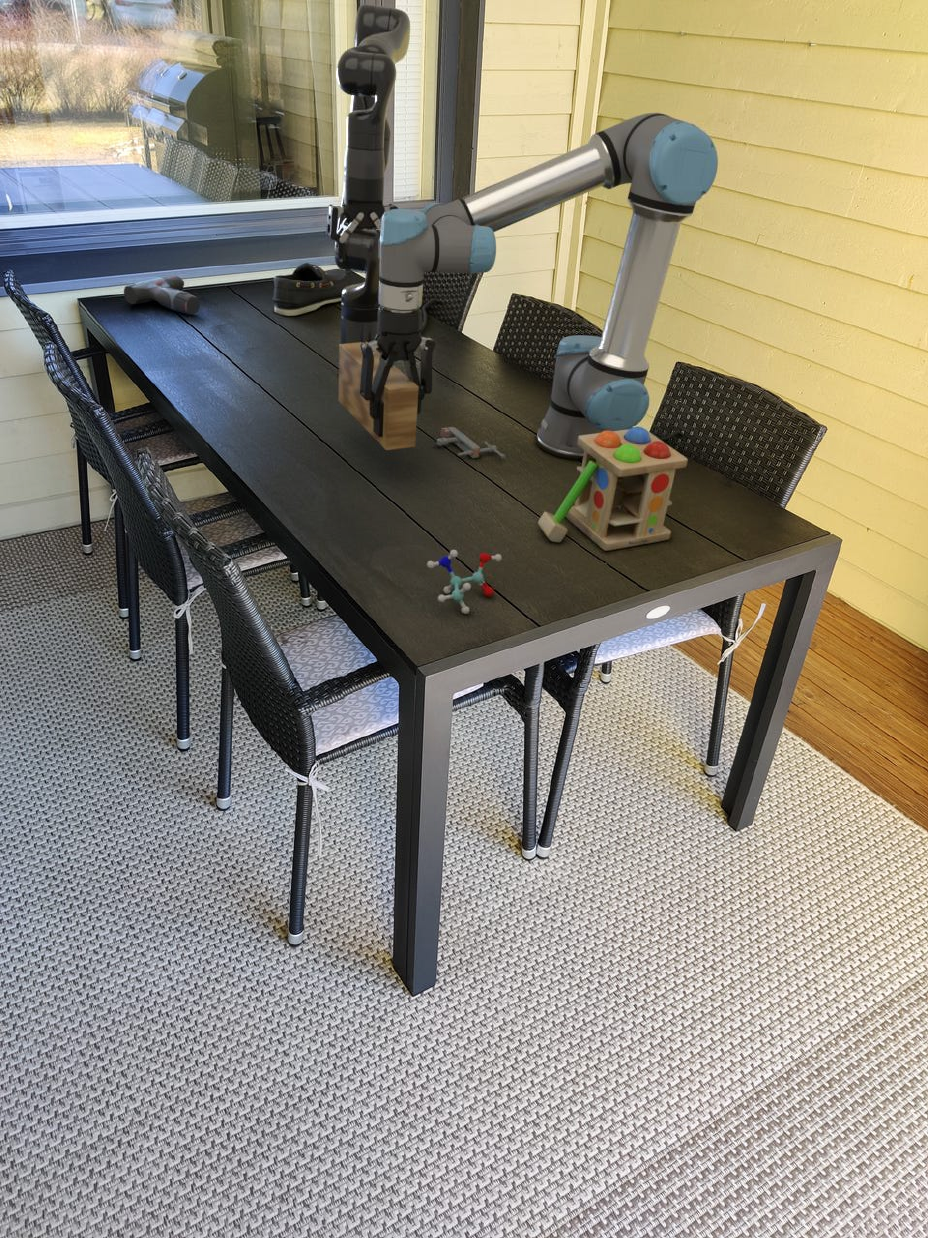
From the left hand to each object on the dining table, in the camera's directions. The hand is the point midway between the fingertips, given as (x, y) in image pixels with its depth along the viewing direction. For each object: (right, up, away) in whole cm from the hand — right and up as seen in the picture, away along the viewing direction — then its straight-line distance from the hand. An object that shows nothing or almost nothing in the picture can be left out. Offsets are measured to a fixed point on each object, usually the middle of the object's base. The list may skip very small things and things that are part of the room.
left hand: (362, 260), depth 195 cm
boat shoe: (-22, +18, +81) cm, 86 cm away
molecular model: (+20, -68, -40) cm, 81 cm away
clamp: (+21, -37, +7) cm, 43 cm away
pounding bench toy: (+44, -56, -17) cm, 73 cm away
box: (+3, -34, -6) cm, 34 cm away
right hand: (+7, -37, -14) cm, 40 cm away
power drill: (-57, +13, +68) cm, 90 cm away
